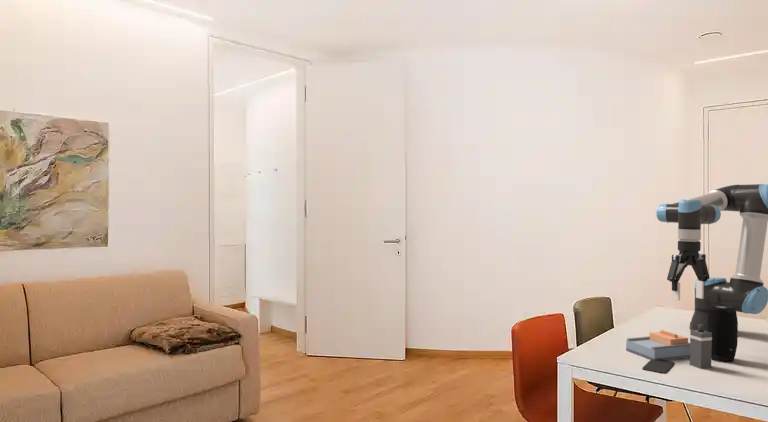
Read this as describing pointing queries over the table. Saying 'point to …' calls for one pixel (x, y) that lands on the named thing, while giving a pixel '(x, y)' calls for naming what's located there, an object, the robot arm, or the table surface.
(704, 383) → the table surface
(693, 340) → the grey bottle-shaped block
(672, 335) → the panel
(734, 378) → the table surface
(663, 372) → the phone
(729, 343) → the portable speaker
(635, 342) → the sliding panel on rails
